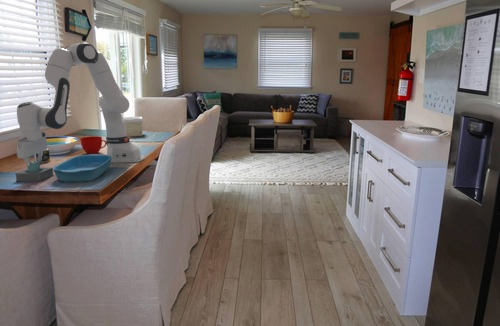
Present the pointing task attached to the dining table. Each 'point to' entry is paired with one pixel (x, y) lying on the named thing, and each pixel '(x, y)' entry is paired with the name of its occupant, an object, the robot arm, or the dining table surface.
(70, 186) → the dining table surface
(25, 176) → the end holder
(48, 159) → the medicine bottle
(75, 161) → the casserole dish
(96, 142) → the ceramic cup
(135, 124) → the storage basket
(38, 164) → the block
